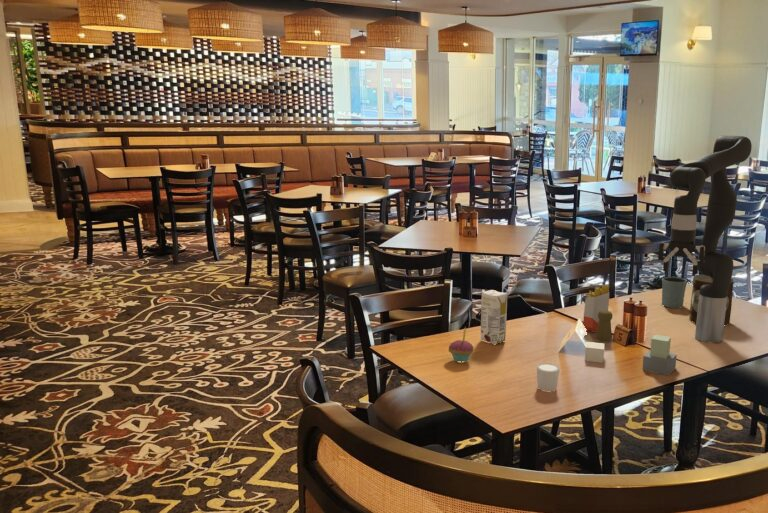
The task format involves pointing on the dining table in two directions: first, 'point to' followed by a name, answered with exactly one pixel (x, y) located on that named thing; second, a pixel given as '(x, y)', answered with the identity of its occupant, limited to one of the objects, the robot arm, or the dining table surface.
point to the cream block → (594, 352)
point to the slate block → (659, 364)
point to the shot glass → (547, 376)
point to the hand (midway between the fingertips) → (679, 274)
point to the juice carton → (493, 316)
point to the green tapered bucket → (673, 291)
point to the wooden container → (697, 283)
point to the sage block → (660, 346)
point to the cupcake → (461, 349)
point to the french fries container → (595, 307)
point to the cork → (604, 326)
